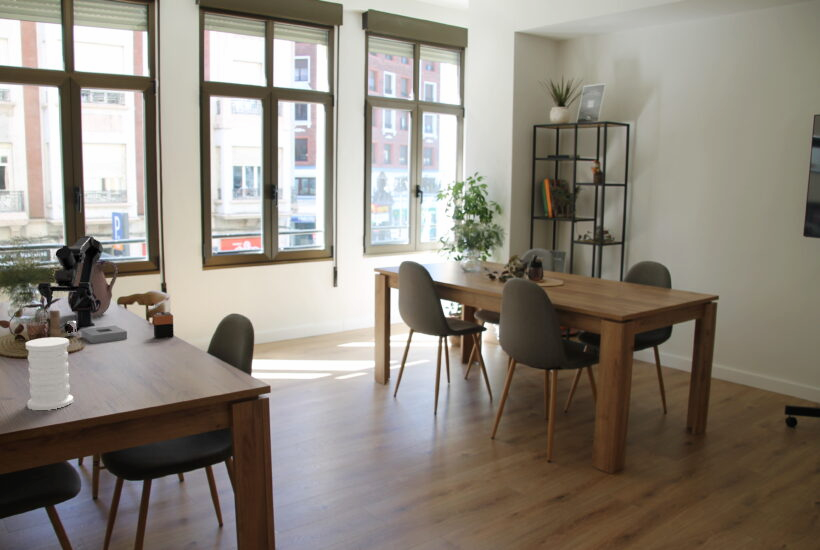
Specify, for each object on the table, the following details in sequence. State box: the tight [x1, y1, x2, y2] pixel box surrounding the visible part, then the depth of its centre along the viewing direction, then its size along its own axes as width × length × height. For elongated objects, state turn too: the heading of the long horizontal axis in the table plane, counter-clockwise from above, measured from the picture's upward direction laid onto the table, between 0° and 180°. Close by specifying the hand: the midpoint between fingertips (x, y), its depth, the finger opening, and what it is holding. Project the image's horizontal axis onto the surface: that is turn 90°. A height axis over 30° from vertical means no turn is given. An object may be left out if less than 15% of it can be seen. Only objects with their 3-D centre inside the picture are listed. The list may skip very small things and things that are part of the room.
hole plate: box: [81, 325, 128, 344], centre depth 278 cm, size 13×13×3 cm
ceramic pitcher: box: [67, 259, 119, 317], centre depth 318 cm, size 18×21×25 cm
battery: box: [153, 311, 175, 340], centre depth 281 cm, size 4×7×10 cm, turn 121°
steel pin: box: [66, 320, 78, 337], centre depth 279 cm, size 3×3×6 cm
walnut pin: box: [49, 310, 62, 338], centre depth 264 cm, size 3×3×13 cm
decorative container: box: [25, 336, 74, 411], centre depth 198 cm, size 12×12×18 cm
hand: (61, 307), depth 270 cm, fingers open, 9 cm apart
